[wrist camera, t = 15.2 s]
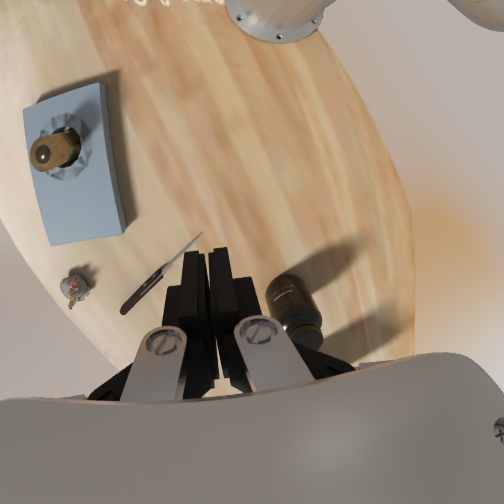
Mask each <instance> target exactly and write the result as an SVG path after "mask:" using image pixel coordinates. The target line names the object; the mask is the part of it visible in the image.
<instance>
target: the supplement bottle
mask: <svg viewBox="0 0 504 504" xmlns="http://www.w3.org/2000/svg"><path fill="white" fill-rule="evenodd" d="M265 297H266V302H267V306H268V309H269V312H270V316H271V317H272V318H274V319H276V320H277V321H278V322H279V323H280V324H281V325H282V327H283V328H284V330H285V332H286V333H287V335H288V337H289V338H290V340H291V341H293V342H296V343H298V344H301V345H303V346H306V347H308V348H311V349H313V350H316V351H317V350H318V349H319V348H320V346H321V345H322V343H323V335H322V332H321V329H320V328H321V326H322V316H321V313H320V311H319V309H318V307H317V306H316V304H315V302H314V300H313V298H312V296H311V294H310V292H309V290H308V288H307V286H306V284H305V283H304V281H303V280H301V279H300V278H298V277H296V276H291V275H287V276H282V277H279V278H277V279H275V280H274V281H273V282H272V283H271V284H270V285H269V286H268V288H267V290H266V295H265Z"/></svg>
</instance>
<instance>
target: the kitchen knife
mask: <svg viewBox="0 0 504 504" xmlns="http://www.w3.org/2000/svg"><path fill="white" fill-rule="evenodd" d="M197 239H198V237H197V238H195V239H194V240H193V241H192V242H190V243H189V244H188V245H187V246H186V247H185V248H184V249H183V250H182V251H181V252H179V253H178V254H177V255H176V256H175V257H174V258H173V259H172V260H171V261H170V262H169V263H168V264H167V265H166V266H165V267H164V268H163V269H162V270H161V269H160V270H158V271H157V272H156V273H154V274H153V275H152V276H151V277H150V278H149V279H148V280H147V281H146V282H145V283H144V284H143V285H142V286H141V287H140V288H139V289H138V290H137V291H136V292H135V293H134V294H133V295H132V296H131V297H130V299H129V300H128V301H127V302H126V303H124V304H123V306H122V307H121V309H120V313H121V314H122V315H125V314H126V313H127V312H128V311H129V310H130V309H131V308H132V307H133V306H134V305H135V304H136V303H137V302H138V301H139V300H140V299H141V298H142V297H143V296H144V295H145V294H146V293H147V292H148V291H149V290H150V289H152V288H153V287H154V286H155V285H156V284H157V283H158V282H159V281H160V280H161V279H162V278H163V274H164V272H165V271H166V270H167V269H168V268H169V267H170V266H171V265H173V264H174V263H175V262H176V261H177V260H178V259H179V258H180V257H181V256H182V255H183V254H184V253H185V252H186V251H187V250H188V249H189V248H190V246H191V245H192V244H193V243H194V242H195V241H196V240H197Z"/></svg>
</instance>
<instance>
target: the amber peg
mask: <svg viewBox="0 0 504 504" xmlns="http://www.w3.org/2000/svg"><path fill="white" fill-rule="evenodd" d="M81 148H82V147H81V140H80V136H79V135H78V133H77V132H76V131H75V130H71V131H66V132H61V133H56V134H52V135H48V136H43V137H40V138H38V139H37V140H35V141H34V143H33V144H32V146H31V149H30V161H31V164H32V166H33V167H34V168H35V169H36V170H37V171H39V172H46V171H49V170H51V169H53V168H55V167H57V166H60V165H62V164H64V163H66V162H69V161H71V160H73V159H76V158H77V157H79V155H80V151H81Z"/></svg>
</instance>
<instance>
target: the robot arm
mask: <svg viewBox="0 0 504 504" xmlns="http://www.w3.org/2000/svg"><path fill="white" fill-rule="evenodd" d="M334 1H335V0H226V9H227V12H228V15H229V16H230V18H231V20H232V21H233V23H234V24H235V25H236V26H237V27H238V28H239V29H240V30H242V31H243V32H244V33H246V34H247V35H249V36H251V37H253V38H255V39H258V40H261V41H264V42H269V43H277V44H284V43H292V42H296V41H299V40H301V39H303V38H305V37H307V36H308V35H310V34H311V33H312V32H314V31H315V30H316V29H317V27H318V26H319V25H320V23H321V20H322V18H323V11H324V9H325V8H326V7H327V6H329V5H330V4H332V3H333V2H334ZM448 1H449V2H450V3H451V4H452V5H453V6H454V7H455V8H456V9H457V10H458V11H460V12H461V13H462V14H463V15H464V16H466V17H467V18H468V19H469V20H471V21H472V22H474V23H475V24H477V25H479V26H481V27H483V28H486V29H489V30H492V31H498V32H504V0H448ZM237 19H241V21H238V20H237ZM312 22H313V23H314V24H313V23H312ZM277 37H279V38H280V39H277ZM213 250H214V252H212V253H208V257H209V278H210V287H209V281H208V275H207V268H206V262H205V255H204V254H199V251H190V252H185V253H184V260H183V269H182V279H181V285H176V286H169V287H168V288H167V294H166V300H165V307H164V313H163V320H162V327H158V328H155V329H153V330H151V331H150V332H148V333H147V334H146V335H145V336H144V338H143V339H142V341H141V344H140V346H139V349H138V351H137V354H136V357H135V359H134V362H133V363H131V364H130V365H129V366H127V367H126V368H124V369H123V370H122V371H120V372H119V373H118V374H116V375H115V376H113V377H112V378H111V379H109V380H108V381H107V382H105V383H104V384H102V385H101V386H99V387H98V388H97V389H95V390H94V391H93V392H92V393H91V394H90V395H89V397H86V396H85V395H78V396H71V397H64V398H44V397H17V398H9V399H5V400H2V401H0V504H504V393H503V392H502V391H501V389H500V388H499V387H498V385H497V384H496V383H495V382H494V381H493V379H492V378H491V377H490V376H489V375H488V374H487V373H486V372H485V371H484V370H483V369H482V368H481V367H480V366H479V365H478V364H477V363H475V362H474V361H473V360H471V359H470V358H468V357H466V356H464V355H461V354H456V353H427V354H419V355H413V356H409V357H404V358H400V359H397V360H389V361H380V362H369V363H359V366H358V367H353V366H352V365H350V364H348V363H347V362H345V361H342V360H339V359H337V358H334V357H331V356H329V355H326V354H323V353H321V352H318V351H316V350H313V349H311V348H308V347H306V346H303V345H301V344H298V343H296V342H293V341H291V340H290V338H289V337H288V335H287V333H286V332H285V330H284V328H283V327H282V325H281V324H280V323H279V322H278V321H277V320H276V319H274V318H272V317H269V316H263V315H262V312H261V309H260V305H259V302H258V298H257V295H256V291H255V288H254V284H253V281H252V278H251V277H243V278H235V279H233V278H232V272H231V267H230V261H229V255H228V250H227V247H223V248H215V249H213ZM216 340H217V346H218V351H219V356H220V361H221V366H222V370H223V375H224V378H230V383H231V386H233V387H235V388H237V389H238V390H240V391H242V392H243V393H242V394H234V395H226V396H217V397H207V398H205V396H204V394H205V393H207V392H208V391H209V390H210V389H212V388H215V386H214V380H215V379H219V368H218V357H217V346H216Z"/></svg>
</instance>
